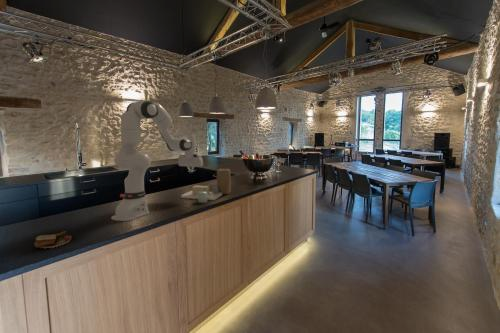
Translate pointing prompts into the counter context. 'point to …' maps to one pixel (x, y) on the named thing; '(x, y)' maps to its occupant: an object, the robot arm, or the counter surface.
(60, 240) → the toy sandwich meal
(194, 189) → the carton
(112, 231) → the counter surface
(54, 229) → the counter surface
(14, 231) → the counter surface
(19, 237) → the counter surface
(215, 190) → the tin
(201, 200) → the sage green capsule
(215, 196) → the white tray
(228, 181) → the wooden block
